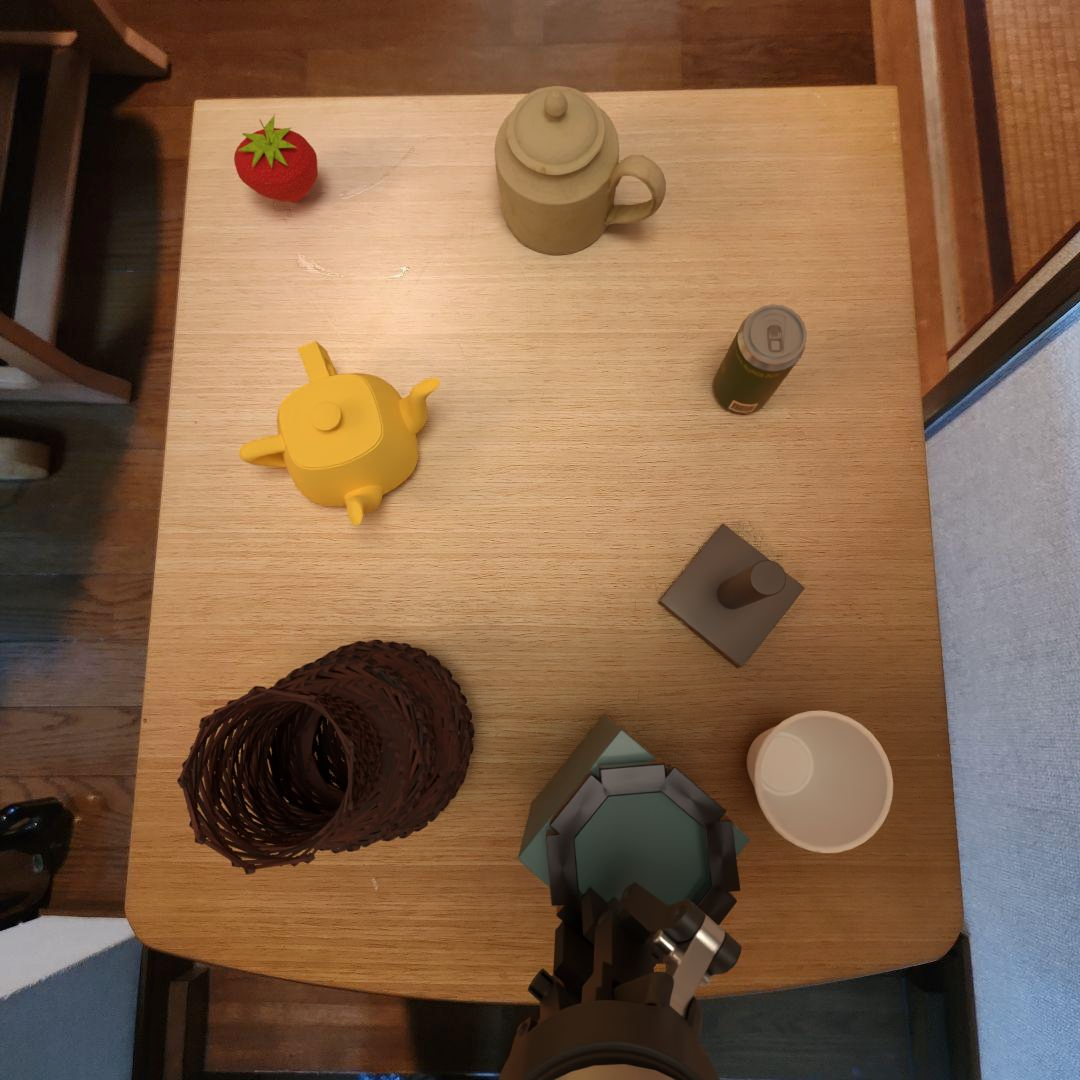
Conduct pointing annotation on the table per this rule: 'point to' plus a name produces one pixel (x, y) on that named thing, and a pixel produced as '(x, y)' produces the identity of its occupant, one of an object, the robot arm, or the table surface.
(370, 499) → the teapot
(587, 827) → the stand
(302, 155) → the strawberry
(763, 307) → the beer can
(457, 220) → the table surface
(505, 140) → the lidded mug
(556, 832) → the ring
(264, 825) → the vase
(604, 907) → the robot arm
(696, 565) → the holder
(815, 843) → the cup
